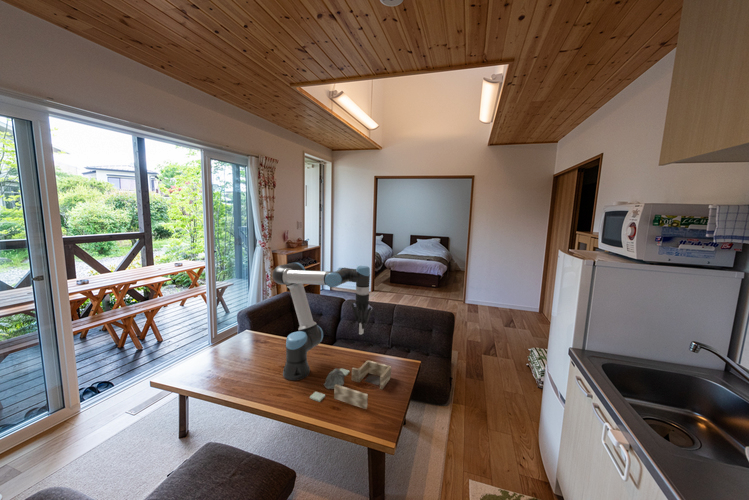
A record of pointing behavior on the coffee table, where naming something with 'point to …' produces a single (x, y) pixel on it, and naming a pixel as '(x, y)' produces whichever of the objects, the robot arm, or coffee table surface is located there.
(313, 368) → the coffee table surface
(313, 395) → the pad
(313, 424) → the coffee table surface
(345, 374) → the pad
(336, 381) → the stone
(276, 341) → the coffee table surface
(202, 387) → the coffee table surface
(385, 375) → the wooden wall enclosure
